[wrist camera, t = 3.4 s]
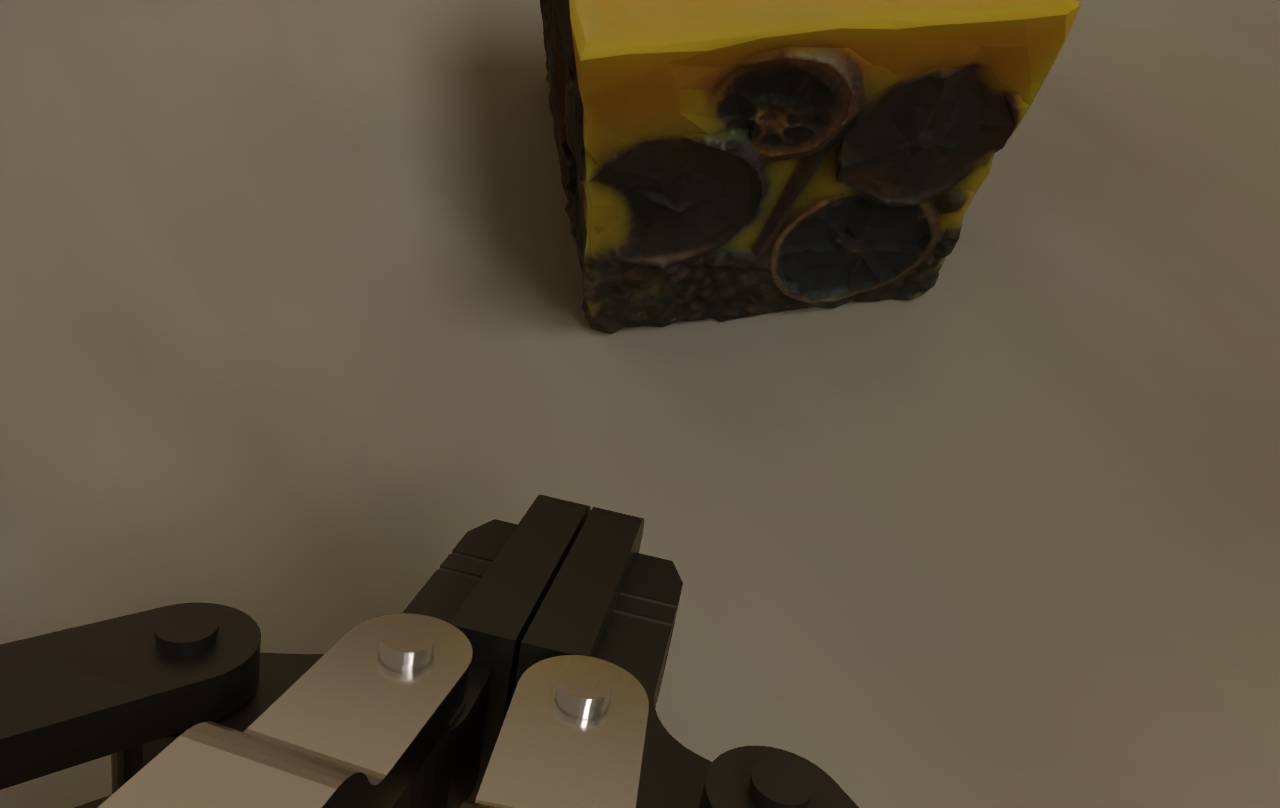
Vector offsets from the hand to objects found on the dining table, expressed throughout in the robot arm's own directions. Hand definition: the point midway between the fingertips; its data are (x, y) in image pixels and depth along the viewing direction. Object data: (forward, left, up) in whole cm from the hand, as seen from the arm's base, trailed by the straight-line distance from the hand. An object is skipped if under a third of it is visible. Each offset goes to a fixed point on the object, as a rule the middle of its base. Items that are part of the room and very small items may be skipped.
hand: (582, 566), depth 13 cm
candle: (0, -15, -10) cm, 18 cm away
